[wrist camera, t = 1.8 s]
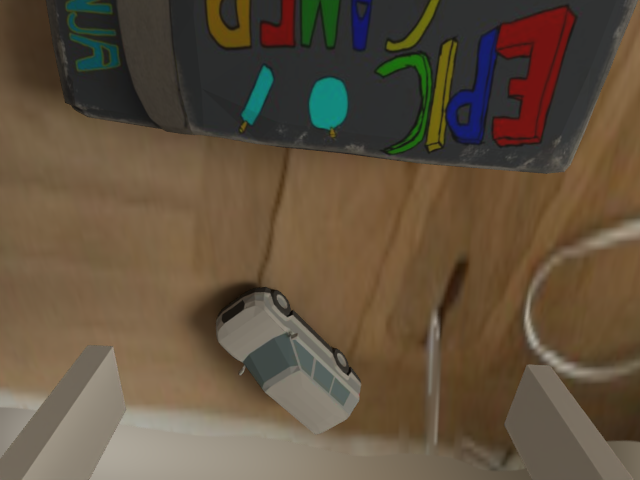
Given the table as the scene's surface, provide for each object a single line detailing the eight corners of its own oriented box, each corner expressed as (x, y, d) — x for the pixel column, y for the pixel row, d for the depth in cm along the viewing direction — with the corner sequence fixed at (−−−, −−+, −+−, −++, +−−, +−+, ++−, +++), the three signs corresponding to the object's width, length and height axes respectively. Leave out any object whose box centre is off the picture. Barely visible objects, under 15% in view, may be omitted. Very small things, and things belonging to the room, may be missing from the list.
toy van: (89, -114, 20) (-93, -244, 11) (556, -41, 22) (728, -103, 13) (112, 105, 25) (-3, 140, 16) (495, 151, 26) (590, 206, 17)
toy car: (264, 270, 30) (256, 309, 26) (363, 369, 35) (371, 417, 30) (210, 309, 32) (193, 353, 27) (312, 399, 36) (312, 449, 32)
